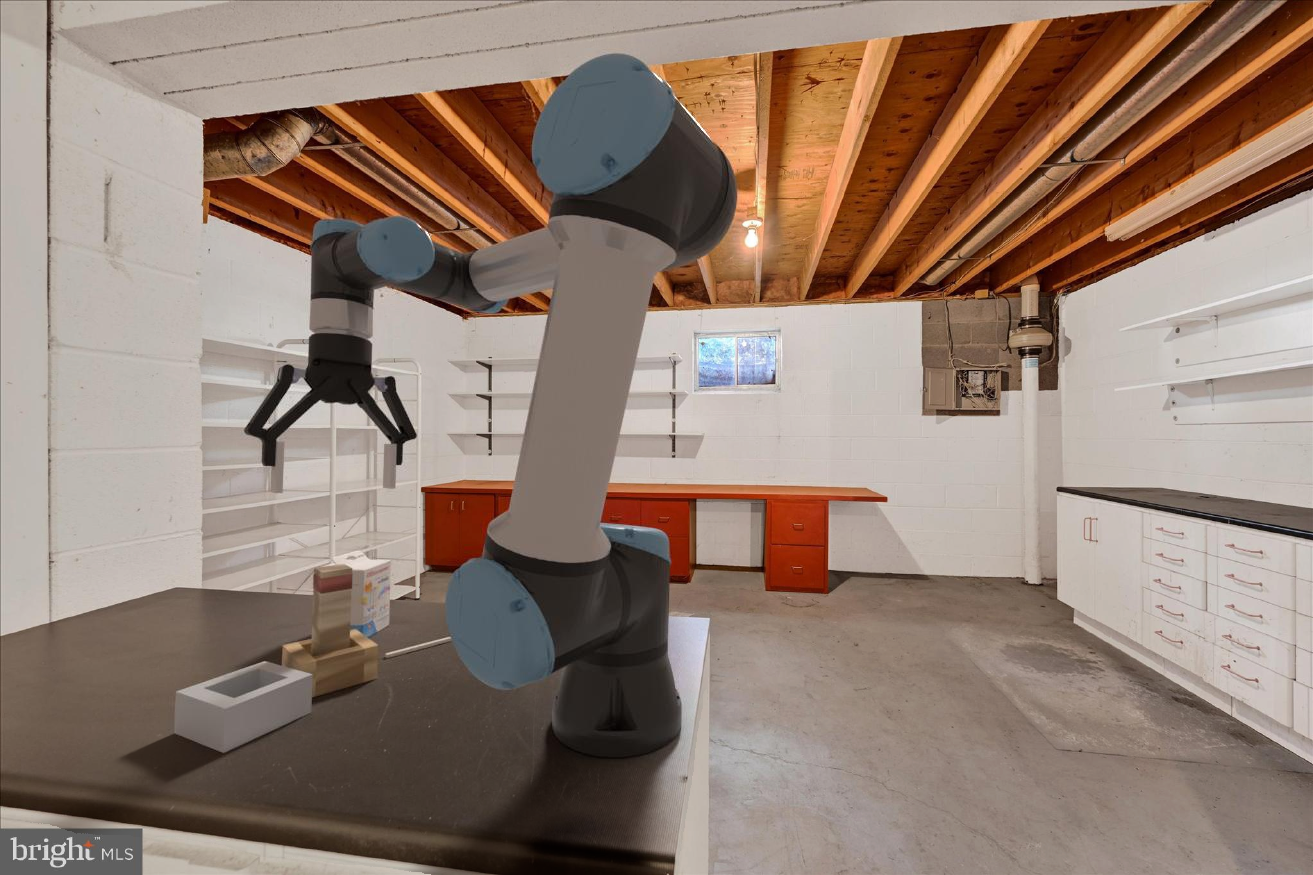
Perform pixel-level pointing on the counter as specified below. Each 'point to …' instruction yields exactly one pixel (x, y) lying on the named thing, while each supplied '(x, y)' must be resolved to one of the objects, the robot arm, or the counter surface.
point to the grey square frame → (242, 705)
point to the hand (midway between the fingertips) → (336, 490)
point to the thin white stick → (417, 647)
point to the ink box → (368, 592)
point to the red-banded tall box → (331, 609)
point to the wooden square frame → (334, 663)
